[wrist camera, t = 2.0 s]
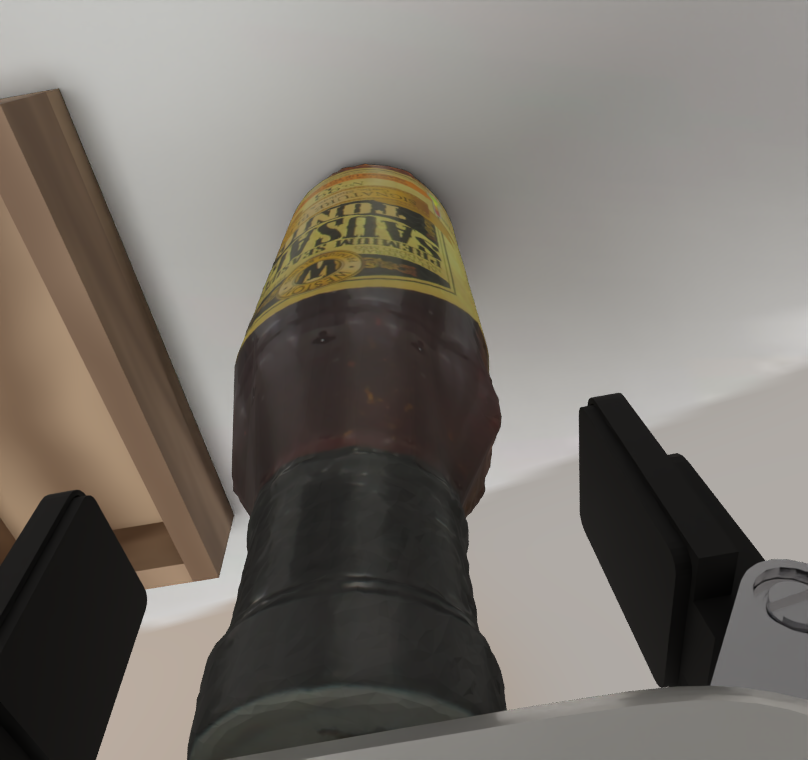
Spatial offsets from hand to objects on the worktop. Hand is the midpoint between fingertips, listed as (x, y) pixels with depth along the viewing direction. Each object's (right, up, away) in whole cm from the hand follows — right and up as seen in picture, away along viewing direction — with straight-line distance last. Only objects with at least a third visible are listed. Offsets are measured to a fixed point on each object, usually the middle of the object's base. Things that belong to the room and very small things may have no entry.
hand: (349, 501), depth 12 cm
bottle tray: (-15, +3, +14) cm, 21 cm away
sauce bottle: (0, +8, +13) cm, 15 cm away
